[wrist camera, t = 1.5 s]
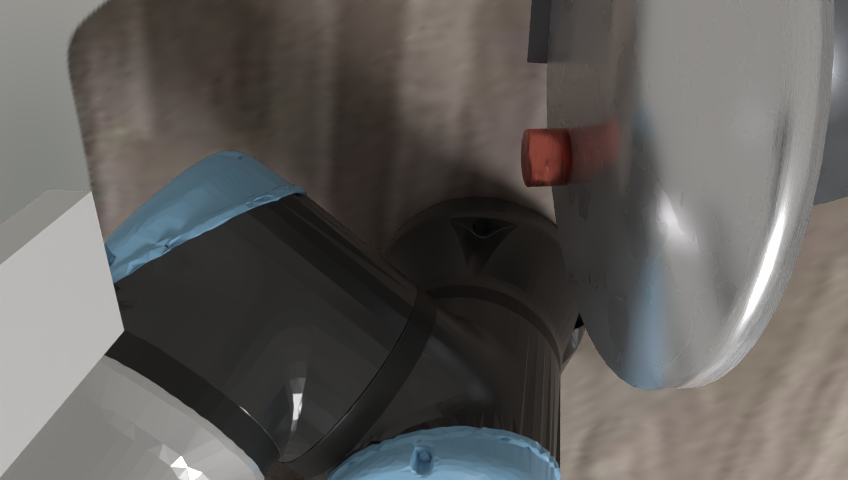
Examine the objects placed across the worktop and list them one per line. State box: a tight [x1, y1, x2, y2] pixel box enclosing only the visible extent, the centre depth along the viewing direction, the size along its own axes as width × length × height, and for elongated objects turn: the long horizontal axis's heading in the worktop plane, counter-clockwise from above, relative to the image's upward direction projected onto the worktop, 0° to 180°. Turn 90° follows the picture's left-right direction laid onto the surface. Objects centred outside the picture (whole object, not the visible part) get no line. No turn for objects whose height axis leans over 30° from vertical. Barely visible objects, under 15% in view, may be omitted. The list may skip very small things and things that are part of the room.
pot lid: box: [521, 0, 834, 390], centre depth 27 cm, size 20×20×3 cm
